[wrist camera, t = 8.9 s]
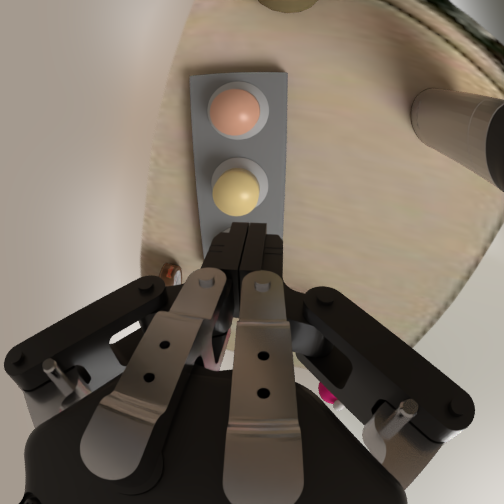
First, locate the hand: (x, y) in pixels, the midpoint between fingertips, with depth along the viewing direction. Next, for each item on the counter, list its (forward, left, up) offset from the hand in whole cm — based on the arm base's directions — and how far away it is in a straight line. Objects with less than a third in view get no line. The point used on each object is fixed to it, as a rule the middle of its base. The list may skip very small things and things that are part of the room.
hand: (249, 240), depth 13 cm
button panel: (+4, +6, -27) cm, 28 cm away
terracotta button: (+4, -4, -24) cm, 24 cm away
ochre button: (+4, +6, -23) cm, 24 cm away
